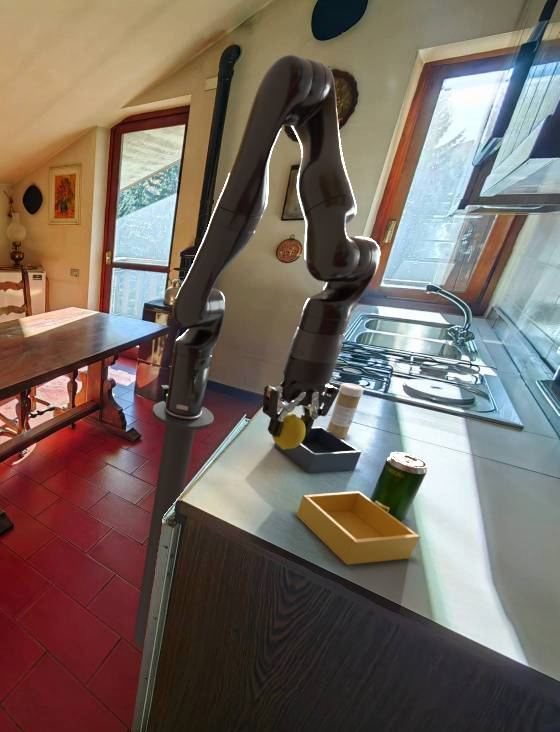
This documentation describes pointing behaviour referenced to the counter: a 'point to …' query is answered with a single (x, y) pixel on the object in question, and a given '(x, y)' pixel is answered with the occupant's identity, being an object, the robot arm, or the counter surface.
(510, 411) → the counter surface
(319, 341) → the robot arm
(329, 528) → the yellow bin
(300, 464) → the slate bin
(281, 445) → the lemon
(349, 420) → the sprinkles bottle
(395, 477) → the beer can
